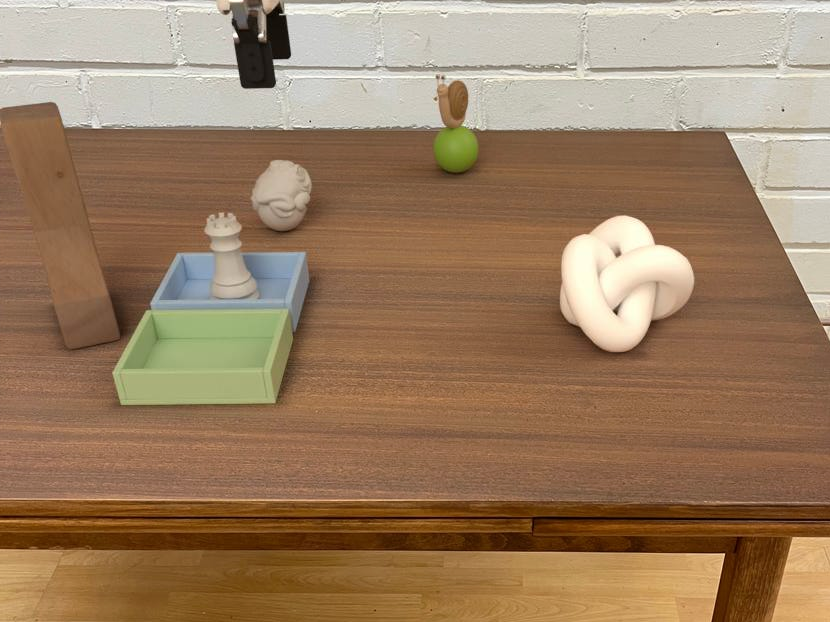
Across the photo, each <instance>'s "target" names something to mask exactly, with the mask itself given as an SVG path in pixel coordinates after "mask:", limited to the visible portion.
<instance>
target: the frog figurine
mask: <svg viewBox="0 0 830 622" xmlns="http://www.w3.org/2000/svg"><path fill="white" fill-rule="evenodd" d="M312 184H313V183H312V179H311V177H310V175H309V173H308V170H306V168H304V167H302V166H301V165H300V164H298V163H294V162H293V161H291V160H284V159H274V160H272V161H270V163H269V166H268V167H266V170H265V171H263V172H262V173H261V174H260V175H259V177H257V179H256V181H255V184H254V187H253V188H252V191H251V192H252V193H251V194H252V195H251V196H250V201H251V202H252V209H253V210H254V211H255V212H257V214H258V216H259V218H260V220H261V222H262V223H263V224H264V225H265V226H267V228H269V229H271V230H273V231H276V232H287V231H291V230H293V229H295V228H296V227H298V226H299V225H300V224H301V223H302V221H303V219H304V217H305V215H306V214H307V209H308V208H307V206H306V205H308V204H309V203H310V201H311V196H310V195H311V193H312V190H313V189H312Z"/></svg>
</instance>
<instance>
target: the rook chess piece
mask: <svg viewBox="0 0 830 622" xmlns="http://www.w3.org/2000/svg"><path fill="white" fill-rule="evenodd" d="M217 215H218V217H216V214H214V213H213V214H210V215H208V217H207V218H206V225H205V227H204V228H203V229H204V233H205V234H206V235H207V236H208V237H209V238H210V240H211V243H210V244H209V249H211V250H212V253H213V254H214V264H215V271H214V275H213V276H212V280H213V281H212V282H211V283H210V293H211V294H212V295H211V300H233V299H258V297H259V291H258V290H257V289H256V288H257V282H256V280H255V279H254V278H253V277H252V276H251V275H250V272H249V271H248V270H247V268H246V266H245V263H244V260H243V257H242V254H241V253H242V250H241V247H242V245H243V242H242V240H240V239H239V234H240V233H241V231H242V229H243V225H242V224H241V223H240V222H239V221H237V216H236V215H234V213H232V212H228V213H227V217H225V212H218V213H217Z"/></svg>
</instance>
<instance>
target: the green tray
mask: <svg viewBox="0 0 830 622" xmlns="http://www.w3.org/2000/svg"><path fill="white" fill-rule="evenodd" d="M293 341H294V335H293V332H292V326H291V319H290V312H289V309H223V310H152V309H146V310H145V312H144V313H143V316H142V318H141V319H140V321H139V323H138V325H137V326H136V328H135V330H134V332H133V334H132V336H131V337H130V339H129V341H128V343H127V345H126V346H125V349H124V350H123V352H122V354H121V356H120V358H119V360H118V361H117V363H116V365H115V366H114V369H113V371H112V372H111V374H112V378H113V382H114V385H115V388H116V392H117V396H118V399H119V402H120V405H121V406H158V405H159V406H161V405H162V406H163V405H166V406H167V405H170V406H171V405H248V404H249V405H250V404H253V405H254V404H257V405H258V404H262V405H263V404H276V402H277V400H278V395H279V392H280V389H281V384H282V382H283V377H284V374H285V371H286V368H287V363H288V360H289V356H290V352H291V349H292V346H293Z"/></svg>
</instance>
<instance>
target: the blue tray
mask: <svg viewBox="0 0 830 622" xmlns="http://www.w3.org/2000/svg"><path fill="white" fill-rule="evenodd" d="M241 254H242V257H243V260H244V263H245V266H246V268H247V270H248V271H249V272H250V275H251V276H252V277H253V278H254V279H255V280H256V282H257V288H256V289H257V290H258V291H259V297H258V299H233V300H211V295H212V294H211V293H210V283H211V282H212V281H213V280H212V276H213V275H214V271H215V264H214V254H213V252H177V253H176V255H175V257H174V259H173V261H172V263H171V264H170V266H169V268H168V270H167V272H166V273H165V275H164V277H163V279H162V281H161V283H160V285H159V286H158V288H157V290H156V292H155V293H154V295H153V297H152V299H151V301H150V302H149V304H150V305H149V306H150V310H223V309H289V312H290V319H291V326H292V333H296V331H297V327H298V324H299V320H300V316H301V314H302V313H301V312H302V309H303V305H304V301H305V298H306V294H307V291H308V287H309V284H310V274H309V273H310V272H309V265H308V256H307V252H306V251H276V252H275V251H266V252H265V251H263V252H261V251H260V252H259V251H258V252H257V251H255V252H250V251H248V252H243V251H241Z"/></svg>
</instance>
